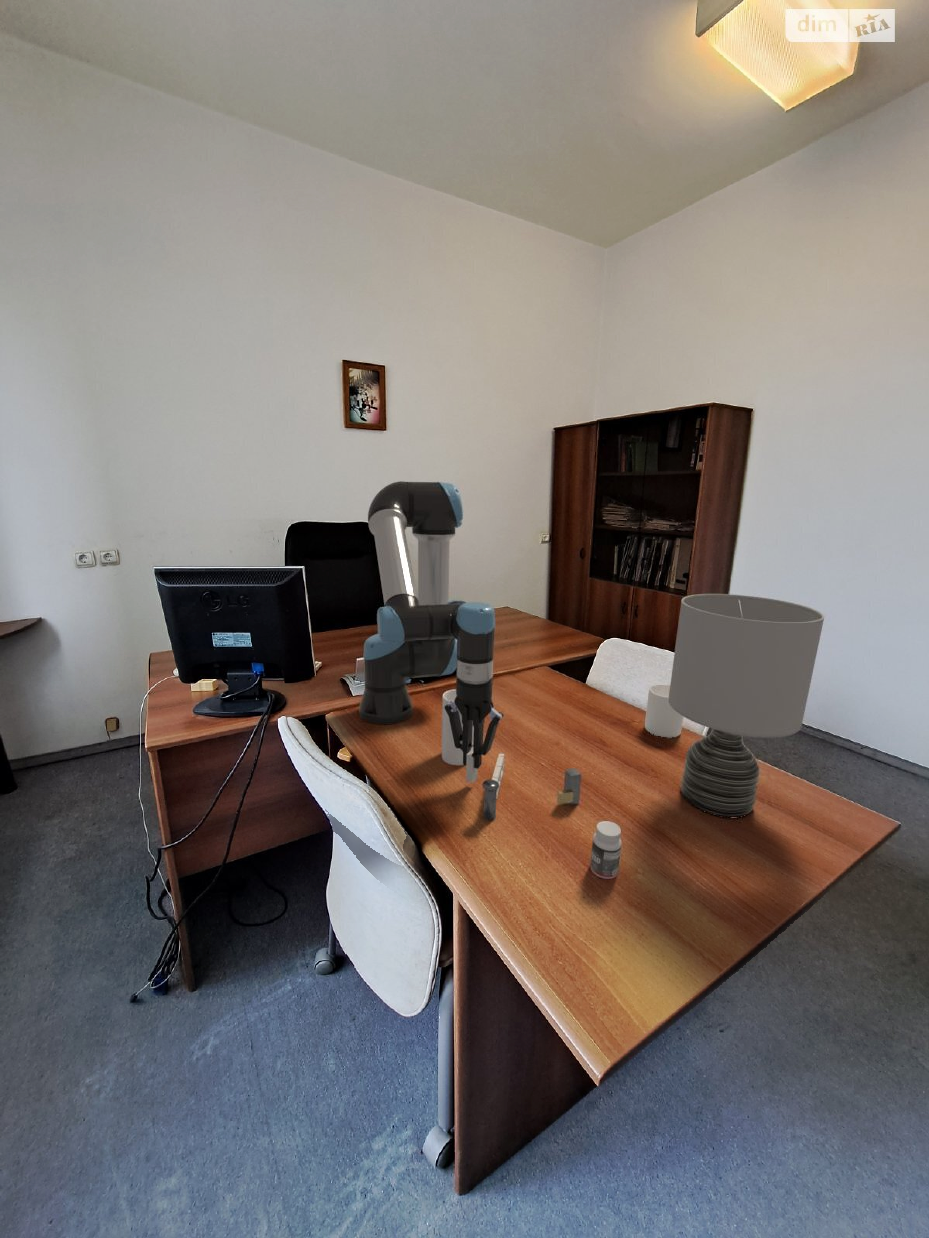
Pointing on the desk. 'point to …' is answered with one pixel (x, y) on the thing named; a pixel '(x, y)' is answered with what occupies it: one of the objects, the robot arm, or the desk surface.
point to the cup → (450, 733)
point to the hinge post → (490, 799)
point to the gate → (499, 770)
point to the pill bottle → (606, 850)
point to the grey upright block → (570, 788)
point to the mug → (662, 713)
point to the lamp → (739, 688)
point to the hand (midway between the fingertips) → (471, 779)
